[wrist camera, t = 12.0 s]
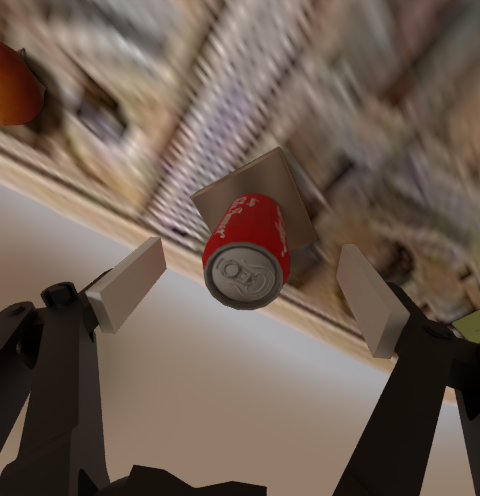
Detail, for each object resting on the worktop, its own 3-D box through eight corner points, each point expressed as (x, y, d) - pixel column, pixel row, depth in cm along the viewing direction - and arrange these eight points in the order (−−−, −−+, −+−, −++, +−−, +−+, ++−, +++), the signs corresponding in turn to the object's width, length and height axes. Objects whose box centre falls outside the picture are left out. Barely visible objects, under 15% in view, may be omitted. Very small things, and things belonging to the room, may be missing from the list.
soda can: (294, 210, 24) (314, 267, 13) (262, 253, 26) (258, 330, 16) (244, 180, 23) (222, 213, 12) (217, 227, 26) (180, 289, 15)
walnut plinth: (278, 146, 25) (280, 147, 21) (312, 228, 28) (319, 241, 25) (198, 190, 28) (188, 197, 24) (238, 259, 32) (235, 274, 28)
